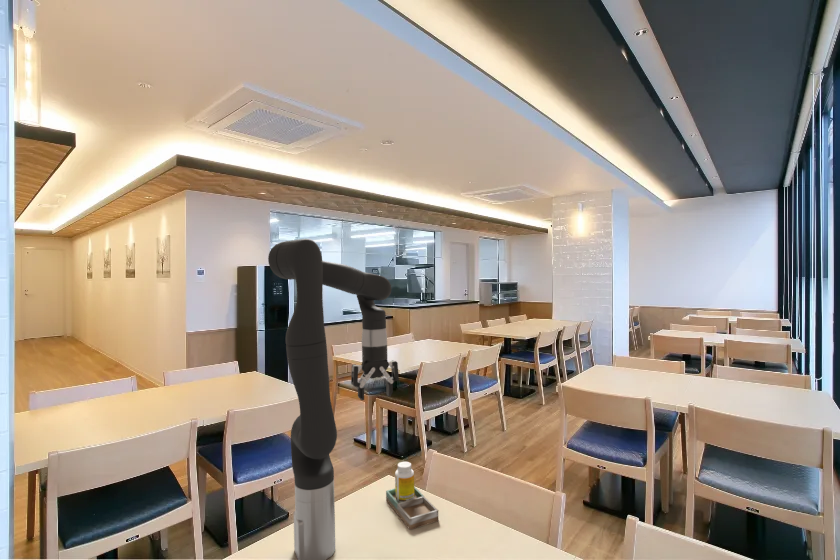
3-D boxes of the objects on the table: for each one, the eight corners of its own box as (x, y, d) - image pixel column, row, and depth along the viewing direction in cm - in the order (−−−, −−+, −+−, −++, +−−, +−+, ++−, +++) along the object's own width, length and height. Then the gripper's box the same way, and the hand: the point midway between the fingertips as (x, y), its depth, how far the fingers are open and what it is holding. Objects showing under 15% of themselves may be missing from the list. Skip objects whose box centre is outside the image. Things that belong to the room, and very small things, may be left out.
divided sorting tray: (410, 529, 110) (409, 519, 110) (386, 500, 124) (386, 490, 124) (438, 520, 113) (438, 510, 113) (412, 493, 128) (412, 483, 128)
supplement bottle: (418, 499, 122) (417, 464, 122) (403, 506, 118) (402, 470, 118) (406, 492, 126) (406, 458, 126) (391, 498, 123) (391, 464, 123)
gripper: (355, 347, 119) (356, 404, 119) (401, 343, 125) (402, 397, 125) (347, 344, 126) (348, 398, 126) (391, 339, 132) (392, 391, 132)
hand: (375, 397), depth 126 cm, fingers open, 8 cm apart
